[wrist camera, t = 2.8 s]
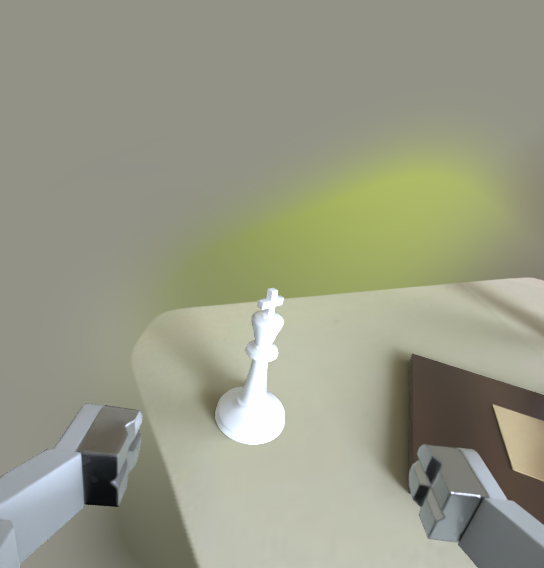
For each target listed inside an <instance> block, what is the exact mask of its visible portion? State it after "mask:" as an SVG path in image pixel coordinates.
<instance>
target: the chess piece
mask: <svg viewBox="0 0 544 568" xmlns="http://www.w3.org/2000/svg"><path fill="white" fill-rule="evenodd" d="M277 294H278V290H276V289H274V288H270V289H268V292H267V298H265V299H261V300H259V301H258V306H257V307H259V308H260V309H262V311H258V312H255V313H254V314H253V315H252V326H253V329H254V337H255V340H254V341H251V342H249V343H248V345H247V347H246V349H245V351H246V354H247V355H248V356H249V357H250V358H252V359H253V360H252V363H251V367H250V370H249V373H248V376H247V379H246V382H245V385H244V387H237V388H234V389H231V390H229V391H228V392H226V393H225V394H224V395H223V396H222V397H221V398H220V400H219V401H218V404H217V407H216V410H215V420H216V423H217V425H218V427H219V429H220V430H221V431H222V432H223V433H224V434H225V435H226V436H228V437H229V438H231V439H233V440H235V441H237V442H241V443H245V444H262V443H266V442H269V441H271V440H273V439H274V438H276V437H277V436H278V435H279V434H280V433H281V431H282V429H283V427H284V417H285V413H284V408H283V406H282V404H281V402H280V401H279V400H278V399H277V398H276V397H275V396H274V395H273V394H271V393H270V392H268V391H266V376H267V363H268V362H270V361H273V360H275V359H276V358H277V356H278V350H277V347H276V346H275V345H274V344H272V342H273V341H274V339H275V337H276V335H277V334H278V332H279V331H280V329H281V328H282V326H283V323H284V322H283V319H282V317H281V316H280V315H279V314H277V313H275V312H274V310H275V306H278V305H282V304H283V299H284V298H283V297H281V296H280V295H278V296H277ZM263 309H264V310H263Z"/></svg>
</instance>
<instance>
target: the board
mask: <svg viewBox="0 0 544 568" xmlns="http://www.w3.org/2000/svg"><path fill="white" fill-rule="evenodd" d="M423 444H427V445H437V446H446V447H454V448H465V449H473V450H475V451H476V452H477V453H478V454H479V456H480V457H481V459H482V460H483V462H484V463H485V465H486V467H487V468H488V470H489V471H490V473H491V474H492V476H493V478H494V479H495V481H496V482H497V484H498V485H499V487H500V489H501V490H502V492H503V493H504V495H505V496H506V498H507V500H510V501H514V502H515V503H516V504H518V505H519V506H520V507H522V508H523V509H524V510H525V511H527V512H528V513H529V514H530V515H532V516H533V517H534V518H535V519H537V520H538V521H539V522H540V523H542V524H543V525H544V395H542V394H539V393H536V392H532V391H529V390H526V389H523V388H520V387H517V386H513V385H510V384H507V383H504V382H501V381H497V380H494V379H491V378H488V377H485V376H482V375H478V374H475V373H472V372H469V371H466V370H463V369H459V368H456V367H453V366H450V365H447V364H444V363H440V362H437V361H434V360H431V359H428V358H425V357H421V356H418V355H415V354H412V355H411V358H410V407H409V471H410V469H411V466H412V464H414V463H415V462H416V461H418V460H419V457H418V455H417V452H418V450H419V447H420V446H422V445H423ZM409 493H410V494H411V492H410V488H409Z"/></svg>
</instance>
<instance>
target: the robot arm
mask: <svg viewBox="0 0 544 568" xmlns="http://www.w3.org/2000/svg"><path fill="white" fill-rule="evenodd" d="M141 422H142V412H141V411H140V410H134V409H127V408H120V407H113V406H107V405H105V406H104V405H96V404H90V403H86V404H85V405H84V406H82V407H81V409H80V410H79V412H78V413H77V415H76V416H75V418H74V419H73V421H72V422H71V424H70V425H69V427H68V428H67V429H66V431H65V432H64V434H63V436H62V437H61V438H60V440H59V441H58V443H57V444H56V446H55V447H54V449H46V450H45V451H43V452H41V453H40V454H38V455H36V456H35V457H33V458H31V459H29V460H27V461H26V462H24V463H22V464H21V465H19V466H17V467H15V468H14V469H12V470H10V471H9V472H7V473H5V474H4V475H2V476H0V568H21V567H20V564H21V563H22V562H23V561H24V560H25V559H26V558H28V557H29V556H30V555H31V554H32V553H33V552H34V551H35V550H37V549H38V548H39V547H40V546H41V545H42V544H43V543H44V542H45V541H46V540H48V539H49V538H50V537H51V536H52V535H53V534H54V533H55V532H56V531H58V530H59V529H60V528H61V527H62V526H63V525H64V524H66V523H67V522H68V521H69V520H70V519H71V518H72V517H73V516H74V515H76V514H77V513H78V512H79V511H80V510H81V509H82V508H83V507H84V504H87V505H100V506H114V507H119V504H120V502H121V499H122V497H123V494H124V492H125V489H126V487H127V484H128V473H129V472H130V471H131V470H133V469H134V467H135V464H136V461H137V459H138V455H139V451H140V447H141V440H142V433H141V432H140V430H139V427H140V425H141ZM417 455H418V457H419V460H418V461H416V462H415V463H414V464H412V466H411V469H410V471H409V488H410V492H411V495H412V498H413V500H414V501H415V502H416V503H417V504H418V505H419V506H420V507H421V510H420V513H419V516H420V519H421V521H422V524H423V527H424V529H425V532H426V534H427V537H428V539H434V540H442V541H449V542H457V543H458V545H459V546H460V547H461V548H462V550H463V551H464V552H465V553H466V554H467V555H468V557H469V558H470V559H471V560H472V561H473V562H474V564H475V565H476V566H477V567H478V568H544V525H543V524H542V523H540V522H539V521H538V520H537V519H535V518H534V517H533V516H532V515H530V514H529V513H528V512H527V511H525V510H524V509H523V508H522V507H520V506H519V505H518V504H516V503H515V502H514V501H510V500H507V498H506V496H505V495H504V493H503V492H502V490H501V489H500V487H499V485H498V484H497V482H496V481H495V479H494V478H493V476H492V474H491V473H490V471H489V470H488V468H487V467H486V465H485V463H484V462H483V460H482V459H481V457H480V456H479V454H478V453H477V452H476V451H475V450H473V449H465V448H454V447H446V446H437V445H427V444H423V445H422V446H420V447H419V450H418V452H417Z"/></svg>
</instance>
